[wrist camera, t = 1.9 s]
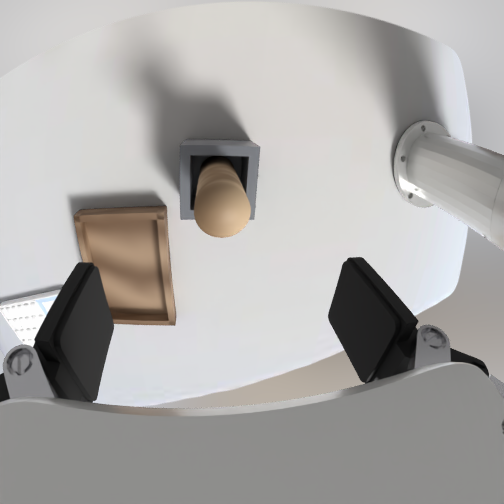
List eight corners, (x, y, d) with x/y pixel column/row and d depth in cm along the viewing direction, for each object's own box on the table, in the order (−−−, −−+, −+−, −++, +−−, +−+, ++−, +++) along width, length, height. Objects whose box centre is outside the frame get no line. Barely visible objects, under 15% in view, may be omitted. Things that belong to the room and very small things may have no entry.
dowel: (235, 155, 27) (252, 185, 16) (233, 188, 29) (248, 237, 18) (200, 154, 26) (193, 184, 16) (199, 188, 28) (194, 237, 18)
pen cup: (250, 140, 27) (260, 146, 22) (246, 200, 30) (254, 219, 25) (185, 139, 26) (180, 145, 21) (185, 200, 29) (180, 219, 24)
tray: (80, 209, 27) (73, 216, 25) (166, 206, 29) (164, 212, 27) (104, 313, 35) (101, 322, 33) (176, 315, 37) (175, 325, 35)
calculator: (0, 300, 31) (-5, 307, 30) (73, 284, 32) (68, 292, 31) (36, 352, 38) (33, 359, 36) (112, 347, 39) (109, 355, 37)
